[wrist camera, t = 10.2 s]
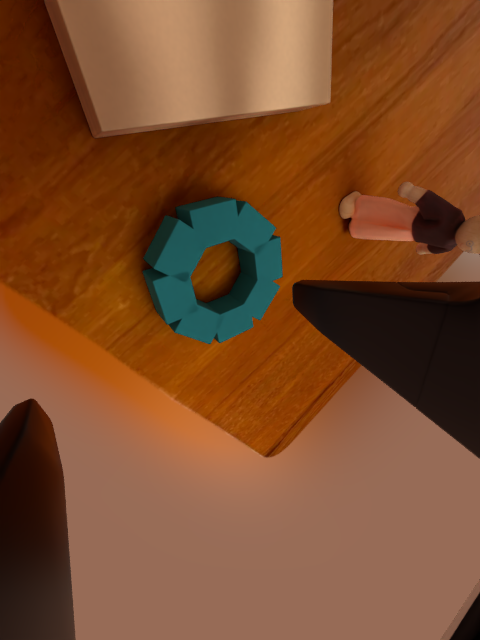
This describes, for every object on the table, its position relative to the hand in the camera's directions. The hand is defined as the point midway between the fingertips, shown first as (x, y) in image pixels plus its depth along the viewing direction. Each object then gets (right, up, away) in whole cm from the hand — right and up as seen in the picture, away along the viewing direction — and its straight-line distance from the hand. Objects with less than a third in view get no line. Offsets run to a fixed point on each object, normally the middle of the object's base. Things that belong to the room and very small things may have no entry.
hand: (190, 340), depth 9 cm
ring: (-1, +5, +12) cm, 13 cm away
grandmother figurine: (+13, +11, +18) cm, 25 cm away
